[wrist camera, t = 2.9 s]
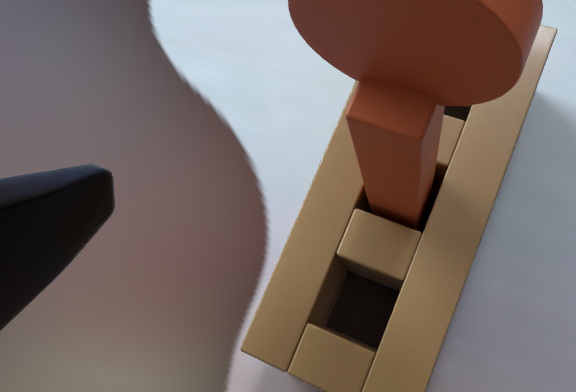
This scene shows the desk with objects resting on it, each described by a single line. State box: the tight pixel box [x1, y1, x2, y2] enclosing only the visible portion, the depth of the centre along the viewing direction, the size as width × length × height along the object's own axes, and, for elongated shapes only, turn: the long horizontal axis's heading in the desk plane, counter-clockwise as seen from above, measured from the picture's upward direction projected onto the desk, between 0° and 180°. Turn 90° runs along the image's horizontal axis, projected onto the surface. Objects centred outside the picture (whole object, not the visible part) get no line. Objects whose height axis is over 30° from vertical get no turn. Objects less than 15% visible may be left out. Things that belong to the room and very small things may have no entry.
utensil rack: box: [241, 25, 557, 392], centre depth 18 cm, size 5×13×4 cm, turn 155°
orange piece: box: [288, 0, 543, 231], centre depth 14 cm, size 2×4×14 cm, turn 66°
